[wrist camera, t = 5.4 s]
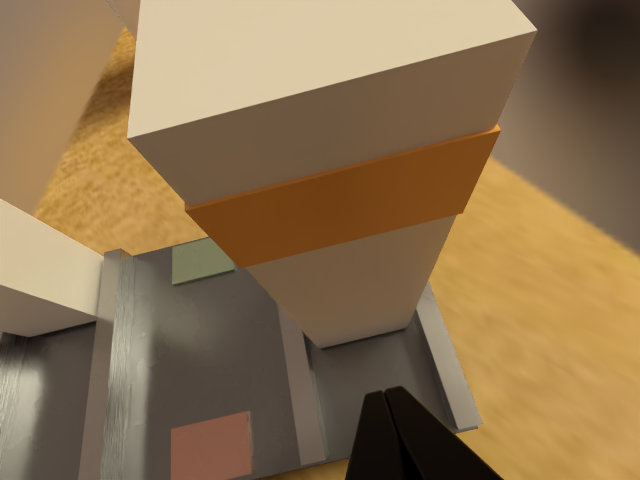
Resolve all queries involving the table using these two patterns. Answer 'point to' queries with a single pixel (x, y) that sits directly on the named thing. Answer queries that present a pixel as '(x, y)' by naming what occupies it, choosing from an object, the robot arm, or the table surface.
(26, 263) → the on lever
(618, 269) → the table surface
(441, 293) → the table surface
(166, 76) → the lever
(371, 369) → the box
